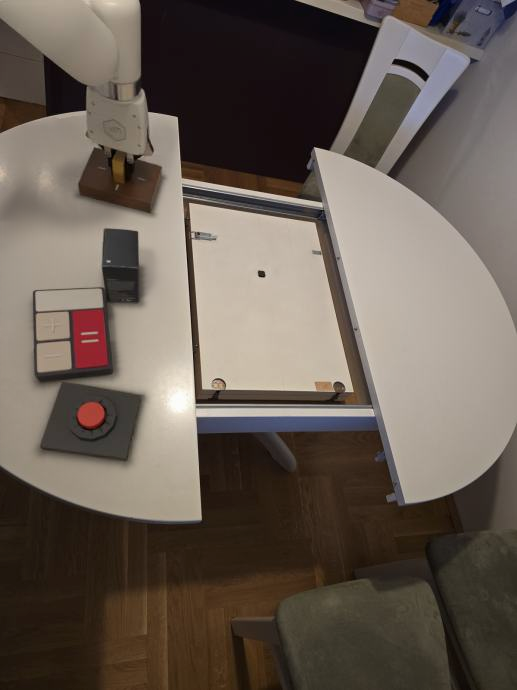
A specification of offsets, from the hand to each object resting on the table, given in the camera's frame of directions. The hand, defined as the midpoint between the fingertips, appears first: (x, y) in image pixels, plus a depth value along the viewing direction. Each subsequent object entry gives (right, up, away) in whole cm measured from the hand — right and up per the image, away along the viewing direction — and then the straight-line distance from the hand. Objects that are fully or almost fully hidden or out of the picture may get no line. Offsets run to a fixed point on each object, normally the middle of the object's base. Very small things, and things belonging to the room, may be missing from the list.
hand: (122, 171), depth 79 cm
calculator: (-3, -34, -13) cm, 37 cm away
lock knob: (0, 0, 0) cm, 1 cm away
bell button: (+3, -46, -21) cm, 51 cm away
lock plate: (-1, -2, +3) cm, 4 cm away
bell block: (+2, -47, -18) cm, 51 cm away
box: (+3, -24, -6) cm, 25 cm away
